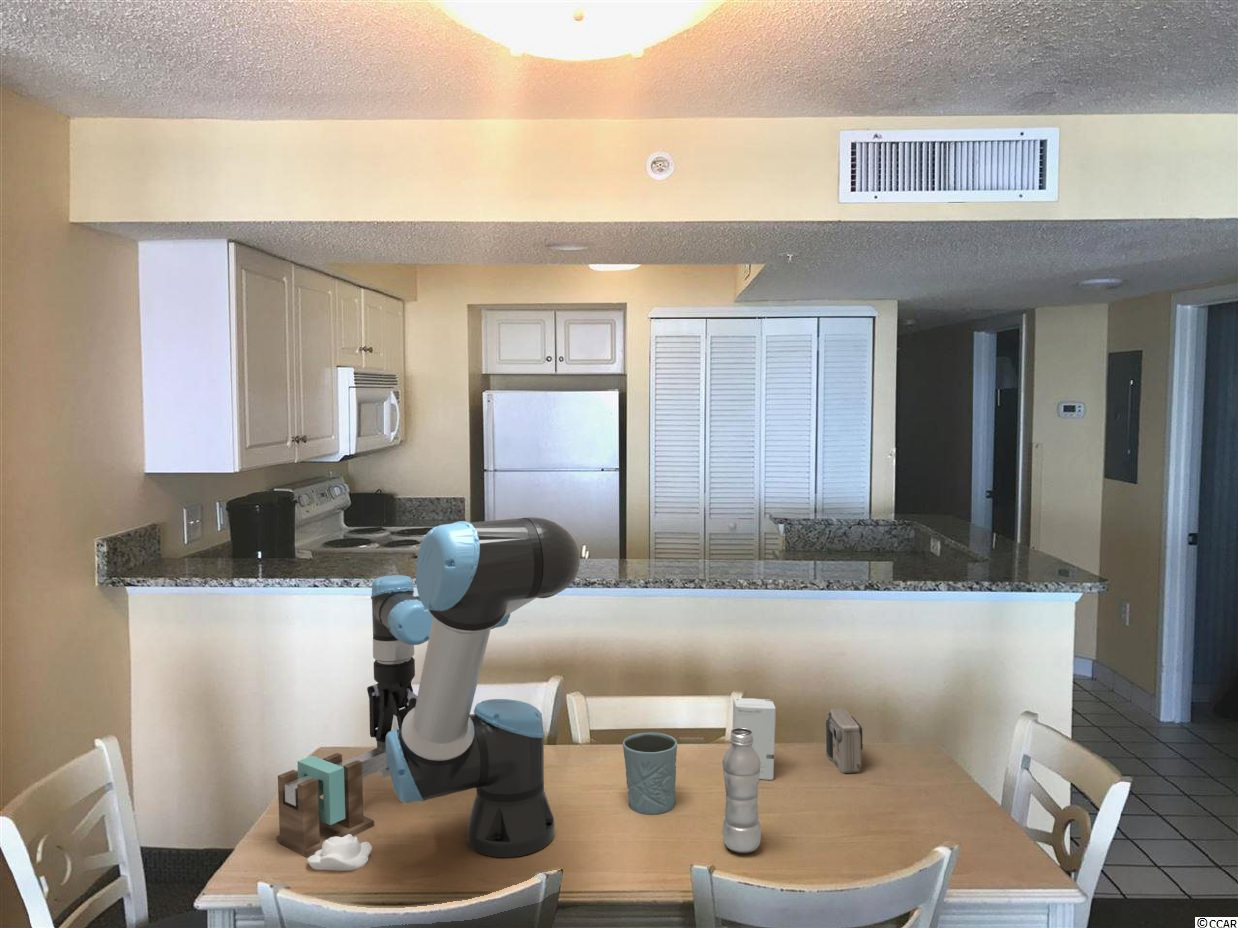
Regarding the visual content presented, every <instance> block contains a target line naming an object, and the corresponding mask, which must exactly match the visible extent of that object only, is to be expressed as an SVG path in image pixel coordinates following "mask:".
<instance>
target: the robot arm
mask: <svg viewBox="0 0 1238 928" xmlns="http://www.w3.org/2000/svg"><path fill="white" fill-rule="evenodd" d="M580 559H581V556H580V550H579V548H578V545H577V543H576V541H575V539H574V537H573V536H572V535H571V534H570V532H569V531H568V530H567V529H565V527H563V526H561V525H560V524H558V523H556V521H555V522H554V521H552V520H549V519H546V518H542V517H535V516H534V517H533V516H532V517H530V516H529V517H521V518H509V519H507V518H506V519H498V520H497V519H496V520H495V519H494V520H485V521H475V522H474V521H473V522H469V521H465V520H464V521H461V520H459V521H456V522H453V523H447V524H439V525H437V526H435V527H433V528H431V529H429V531H428V532H427V533H426V534H425V536H424V537H423V539H422V540H421V543H420V546H419V549H418V553H417V558H416V562H415V563H416V564H415V567H416V568H417V569H416V570H417V572H416V574H415V583H416V590H417V594H418V595H417V596H414V593H415V589H414V583H413V579H412V578H411V576H407V575H403V574H402V575H401V574H400V575H398V574H397V575H395V574H393V575H384V576H380V577H377V578H375V579H374V580H373V581H372V584H371V595H370V599H371V612H372V613H371V614H372V615H371V616H372V617H371V619H372V657H373V659H374V662H373V679H374V681H375V682H376V684H373V685H369V686H367V688H366V691H367V695H368V699H369V701H368V707H369V710H368V711H369V735H370V737H371V738H375V741H376V742H377V740H379V739H381V738H384V737H386V741H385V743H386V754H387V761H388V766H389V770H387V769H383V770H381V771H379V778H380V779H385V778H387V777H390V779H391V783H392V787H393V790H394V792H395V794H396V797H397V798H398V800H399V801H401V802H402V803H405V804H409V803H416V802H425V801H427V800H432V799H436V798H439V797H444V796H447V795H452V794H455V793H460V792H464V791H468V790H472V789H476V791H475V792H476V794H475V798H474V802H473V804H472V805H473V806H472V808H471V812H470V815H469V818H468V821H467V826H466V841H467V844H468V845H469V847H470V848H471V849H472V850H474V851H475V852H477V853H479V854H482V855H485V856H489V857H494V858H496V857H498V858H517V857H521V856H526V855H531V854H533V853H536V852H539V851H540V850H542V849H544V848H545V847H547V846H548V845H549V844H550V843H551V842H552V841H553V839H554V837H555V834H556V833H555V831H556V829H555V824H556V823H555V818H554V814H553V811H552V809H551V807H550V803H549V800H548V798H547V794H546V791H545V781H544V780H545V779H544V778H545V771H544V769H545V768H544V767H545V766H544V765H545V764H544V763H545V762H544V761H545V760H544V758H545V755H544V754H545V753H544V752H545V751H544V747H545V746H544V744H545V742H544V737H545V732H544V725H543V724H544V723H543V715H542V712H541V711H540V710H539V709H538V708H537V707H536V706H534V705H532V704H530V703H529V702H528V703H527V702H525V701H521V700H515V699H508V698H507V699H506V698H494V699H492V698H491V699H486V700H485V699H484V700H483V701H481V702H478V703H476V705H475V707H474V709H473V714H472V715H471V711H472V706H473V703H474V699H475V695H476V692H477V691H476V690H477V686H478V684H479V679H480V678H479V677H480V674H481V671H482V666H483V662H484V658H485V654H486V650H487V647H488V646H487V645H488V641H489V637H490V633H491V630H493V629H495V628H501V627H504V626H506V625H507V624H508V623H509V619H510V616H511V613H513V612H516V611H517V610H518V609H520V608H522V607H524V606H525V605H527V604H529V603H531V602H532V601H534V600H535V599H548V598H551V597H554V596H556V595H558V594H559V593H561V592H563V591H564V590H566V589H567V588H569V586H570V585H572V583H574V580H575V579H576V578H577V575H578V573H579V569H580V563H581V560H580ZM426 642H427V646H426V652H425V656H424V662H423V665H422V666H423V667H422V672H421V676H420V682H419V686H418V691H417V694H416V693H414V689H413V686H412V682H413V681H412V680H414V678H415V676H416V661H415V660H416V659H415V658H414V657H413V656H414V655H415V646H419V645H422V644H424V643H426ZM394 716H396V721H397V727H398V728H394V729H393V730H392V727H393V722H394V721H393V720H394Z"/></svg>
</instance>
